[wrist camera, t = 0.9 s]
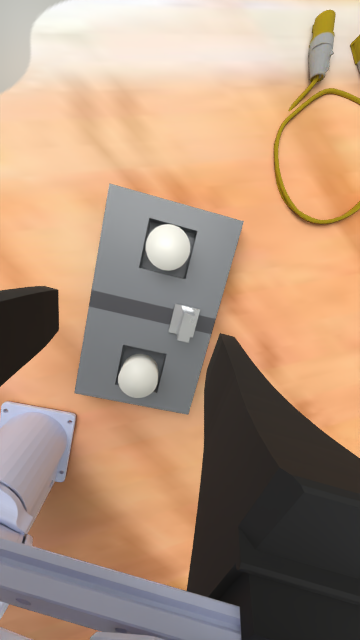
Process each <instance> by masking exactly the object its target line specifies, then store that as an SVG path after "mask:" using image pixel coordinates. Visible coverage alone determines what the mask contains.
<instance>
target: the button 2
mask: <svg viewBox="0 0 360 640" xmlns="http://www.w3.org/2000/svg"><path fill="white" fill-rule="evenodd" d="M146 253H147V256H148V258H149V260H150V261H151V263H152V264H153V265H154V266H156V267H157V268H159V269H162V270H167V271H169V270H175V269H177V268H179V267H181V266H182V265H183V264H184V263H185V262H186V260H187V259H188V257H189V253H190V242H189V239H188V237H187V235H186V233H185V232H184V231H183V230H182V229H180V228H179V227H177V226H175V225H171V224H164V225H161V226H158V227H156V228H155V229H154V230H153V231H152V232H151V233H150V234H149V236H148V238H147V241H146Z"/></svg>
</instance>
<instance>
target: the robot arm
mask: <svg viewBox="0 0 360 640" xmlns="http://www.w3.org/2000/svg"><path fill="white" fill-rule="evenodd" d="M58 330H59V307H58V290H57V289H53V288H49V287H46V286H35V287H25V288H17V289H9V290H2V291H0V386H1V385H3V384H4V383H5V382H6V381H7V380H8V379H9V378H10V377H11V376H13V375H14V374H15V373H16V372H17V371H18V370H19V369H21V368H22V367H23V366H24V365H25V364H26V363H27V362H29V361H30V360H31V359H32V358H33V357H34V356H35V355H36V354H38V353H39V352H40V351H41V350H42V349H43V348H44V347H45V346H46V345H47V344H48V343H49V341H50V340H51V339H52V338H53V337H54V335H55V334H56V333H57V332H58ZM6 409H7V410H8V411H7V410H6ZM69 420H71V421H72V422H70V421H69ZM75 421H76V415H75V414H74V413H70V412H65V411H59V410H54V409H48V408H43V407H37V406H32V405H26V404H20V403H15V402H9V401H6V402H4V403H3V404H2V406H1V416H0V619H1V617H2V616H3V614H4V612H5V610H6V609H7V607H8V605H9V604H11V605H14V606H17V607H21V608H24V609H27V610H31V611H34V612H38V613H41V614H44V615H48V616H51V617H54V618H58V619H61V620H65V621H68V622H71V623H75V624H78V625H81V626H85V627H88V628H91V629H95V630H98V631H102V632H96V633H95V634H94V635H93V636H91V637H90V640H360V458H358V457H357V456H356V455H354V454H353V453H351V452H350V451H349V450H347V449H346V448H345V447H343V446H342V445H340V444H339V443H338V442H336V441H335V440H334V439H332V438H331V437H330V436H328V435H327V434H326V433H324V432H323V431H322V430H321V429H319V428H318V427H317V426H316V425H314V424H313V423H312V422H311V421H310V420H308V419H307V418H306V417H305V416H304V415H302V414H301V413H300V412H299V411H298V410H297V409H296V408H295V407H293V406H292V405H291V404H290V403H289V402H288V401H287V400H286V399H285V398H284V397H283V396H282V395H281V394H280V393H279V392H278V391H277V390H276V389H275V388H274V387H273V386H272V385H271V384H270V382H269V381H268V380H267V379H266V378H265V377H264V375H263V374H262V373H261V372H260V371H259V369H258V368H257V367H256V366H255V364H254V363H253V362H252V361H251V359H250V358H249V356H248V355H247V354H246V352H245V351H244V350H243V348H242V347H241V345H240V344H239V343H238V341H237V340H236V339H235V337H232V336H229V335H225V334H221V333H220V335H219V338H218V340H217V343H216V346H215V349H214V352H213V354H212V357H211V360H210V363H209V366H208V369H207V373H206V380H205V388H204V453H203V463H202V473H201V483H200V492H199V501H198V509H197V517H196V525H195V534H194V542H193V549H192V556H191V564H190V571H189V578H188V585H187V591H184V590H181V589H177V588H174V587H171V586H167V585H164V584H160V583H157V582H153V581H150V580H147V579H143V578H140V577H136V576H133V575H129V574H126V573H122V572H119V571H116V570H112V569H109V568H105V567H102V566H98V565H95V564H92V563H88V562H85V561H81V560H78V559H74V558H71V557H68V556H64V555H61V554H57V553H54V552H50V551H47V550H44V549H40V548H37V547H33V545H32V543H33V537H32V536H31V535H28V534H27V533H28V532H29V530H30V528H31V527H32V525H33V523H34V521H35V519H36V517H37V515H38V513H39V511H40V509H41V507H42V505H43V503H44V502H45V500H46V498H47V496H48V494H49V492H50V490H51V488H52V486H53V484H54V482H55V481H56V482H63V481H64V480H65V478H66V473H67V467H68V461H69V455H70V450H71V444H72V438H73V432H74V427H75ZM0 640H33V639H30V638H28V637H25V636H22V635H20V634H17V633H15V632H12V631H10V630H7V629H4V628H2V627H0Z"/></svg>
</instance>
